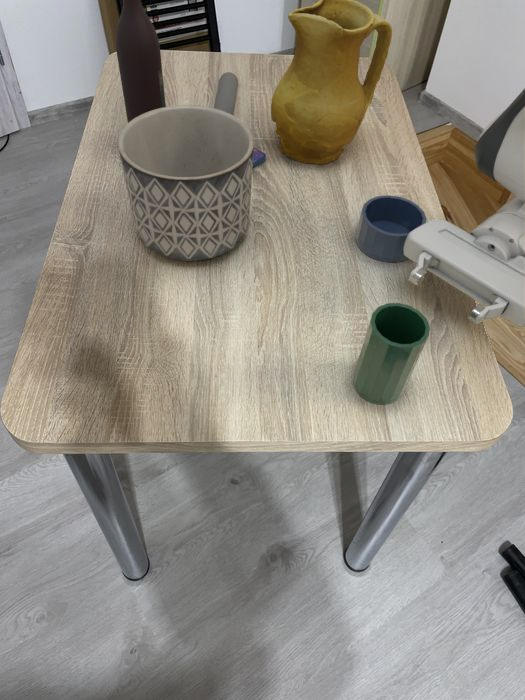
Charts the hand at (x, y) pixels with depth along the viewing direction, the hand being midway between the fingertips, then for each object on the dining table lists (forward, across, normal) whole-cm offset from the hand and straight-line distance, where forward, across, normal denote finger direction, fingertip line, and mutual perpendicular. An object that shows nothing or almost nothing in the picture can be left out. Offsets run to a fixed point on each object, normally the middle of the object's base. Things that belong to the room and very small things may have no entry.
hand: (443, 298), depth 70 cm
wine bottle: (0, -63, +9) cm, 63 cm away
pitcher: (-25, -43, +9) cm, 51 cm away
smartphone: (-7, -50, +9) cm, 51 cm away
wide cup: (-13, -17, +8) cm, 23 cm away
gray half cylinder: (-24, -68, +9) cm, 73 cm away
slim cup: (+11, 0, +8) cm, 14 cm away
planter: (+9, -40, +9) cm, 42 cm away
